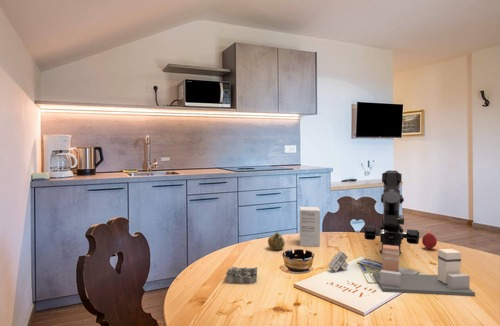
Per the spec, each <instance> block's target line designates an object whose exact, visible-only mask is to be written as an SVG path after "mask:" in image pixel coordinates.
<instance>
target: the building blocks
mask: <svg viewBox="0 0 500 326" xmlns="http://www.w3.org/2000/svg"><path fill="white" fill-rule="evenodd" d="M347 259H348V256H347V255H346V254H345V253H344V252H343V251H338V252H337V253H336V254H334V256H333V258H332V259H331V260H330V262H329V263H328V264H327V267H328V269H330V270H331V271H332V272H335V273H337V272H338V271H339V270H342V271H346V270H347V268H348V266H349V264H348V263H347Z"/></svg>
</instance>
